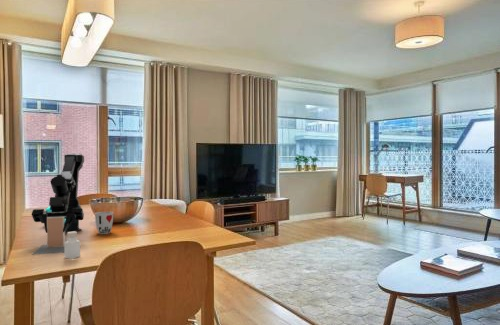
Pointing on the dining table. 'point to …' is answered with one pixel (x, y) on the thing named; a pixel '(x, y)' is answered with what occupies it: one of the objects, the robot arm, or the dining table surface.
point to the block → (55, 231)
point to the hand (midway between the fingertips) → (55, 231)
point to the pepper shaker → (72, 246)
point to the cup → (104, 221)
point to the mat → (49, 250)
